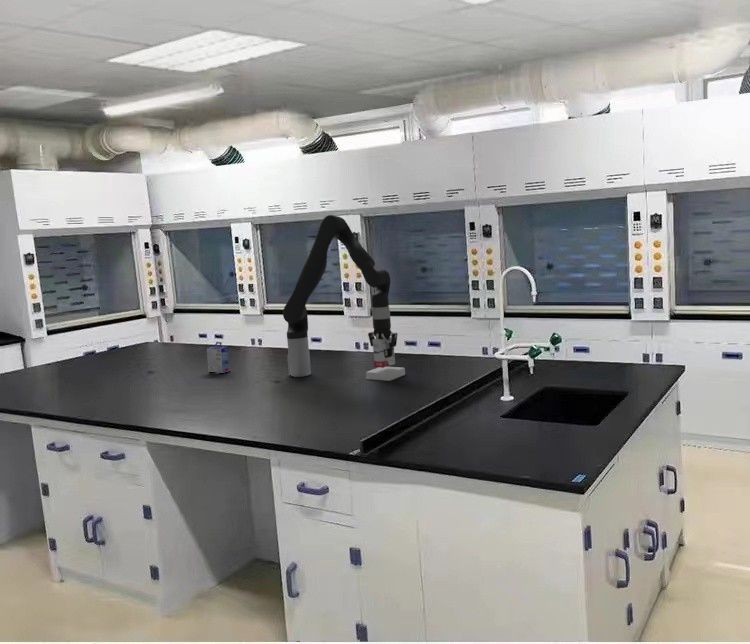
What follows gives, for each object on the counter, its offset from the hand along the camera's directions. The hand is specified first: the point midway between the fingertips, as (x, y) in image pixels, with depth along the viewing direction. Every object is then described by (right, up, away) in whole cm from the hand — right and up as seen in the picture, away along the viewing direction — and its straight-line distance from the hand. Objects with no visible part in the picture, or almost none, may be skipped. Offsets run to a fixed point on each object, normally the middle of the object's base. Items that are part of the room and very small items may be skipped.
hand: (384, 356), depth 313 cm
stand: (+1, -9, +1) cm, 9 cm away
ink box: (0, -4, +1) cm, 4 cm away
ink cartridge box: (-78, -10, +39) cm, 88 cm away
